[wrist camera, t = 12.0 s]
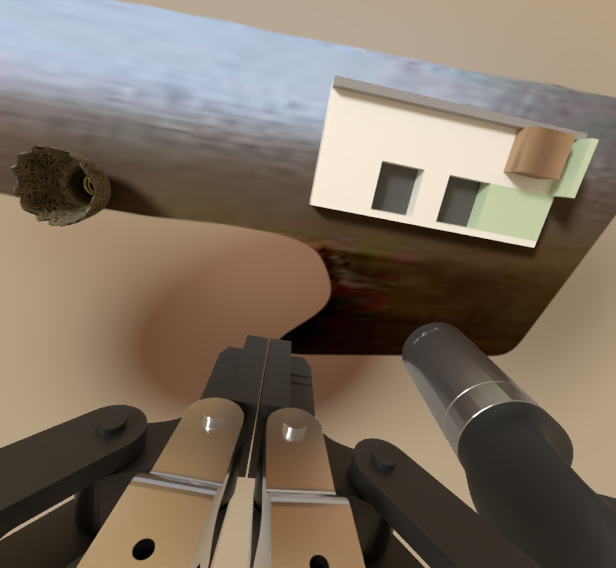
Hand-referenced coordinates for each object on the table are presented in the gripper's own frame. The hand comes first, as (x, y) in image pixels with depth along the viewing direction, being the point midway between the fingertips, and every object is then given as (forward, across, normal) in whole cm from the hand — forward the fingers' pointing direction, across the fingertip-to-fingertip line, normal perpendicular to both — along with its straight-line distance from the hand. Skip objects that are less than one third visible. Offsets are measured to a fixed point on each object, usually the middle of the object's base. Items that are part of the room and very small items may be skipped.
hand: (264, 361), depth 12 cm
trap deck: (+32, -16, -10) cm, 37 cm away
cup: (+32, +23, -1) cm, 39 cm away
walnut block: (+30, -26, -13) cm, 41 cm away
